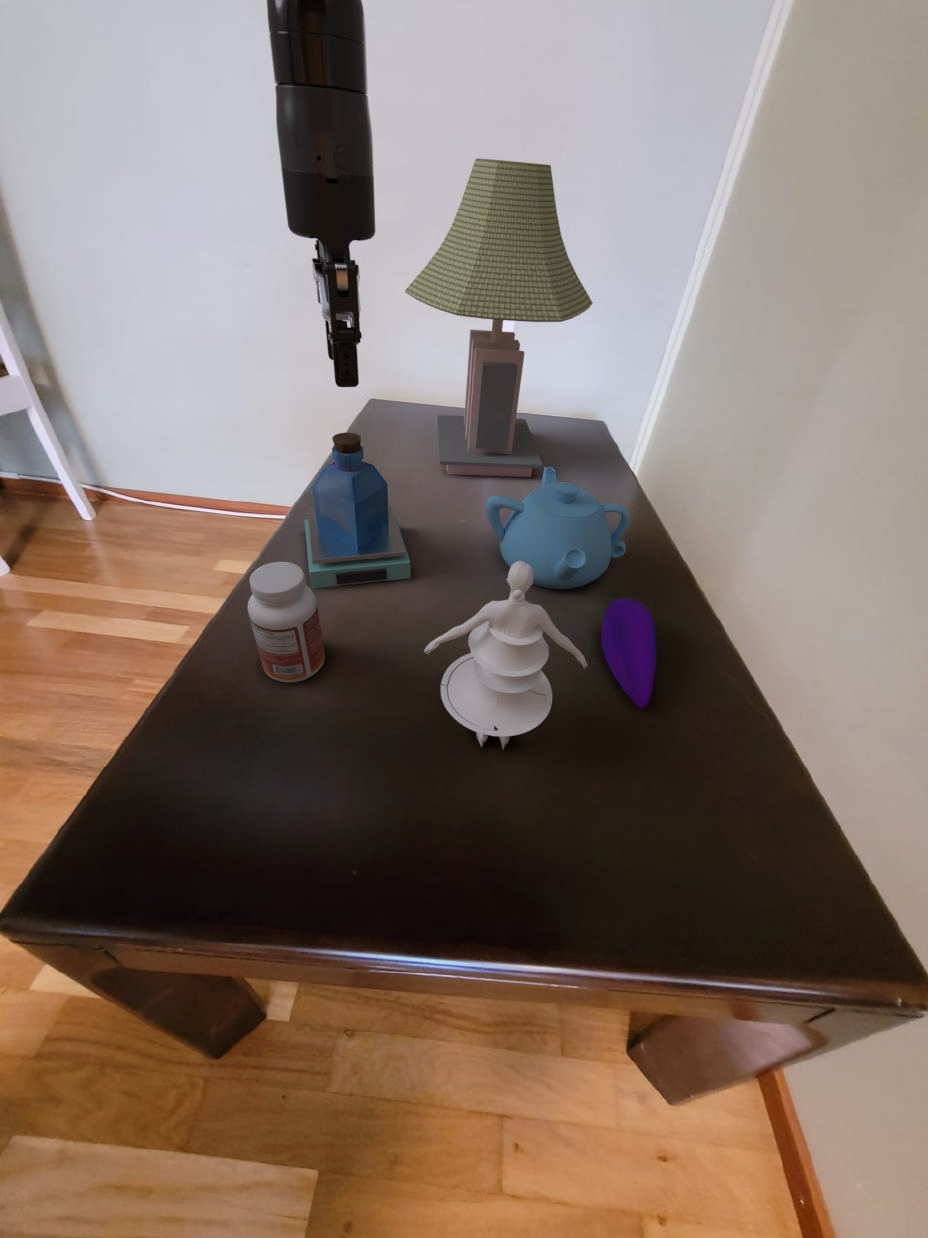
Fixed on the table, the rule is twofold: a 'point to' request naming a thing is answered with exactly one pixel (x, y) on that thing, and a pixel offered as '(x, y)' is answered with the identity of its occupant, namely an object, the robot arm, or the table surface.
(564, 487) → the teapot
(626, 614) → the purple teardrop shape
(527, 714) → the figurine
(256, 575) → the pill bottle
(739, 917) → the table surface
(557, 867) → the table surface
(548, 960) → the table surface
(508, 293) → the desk lamp
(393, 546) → the pan
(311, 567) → the scale
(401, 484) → the table surface
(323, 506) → the perfume bottle
